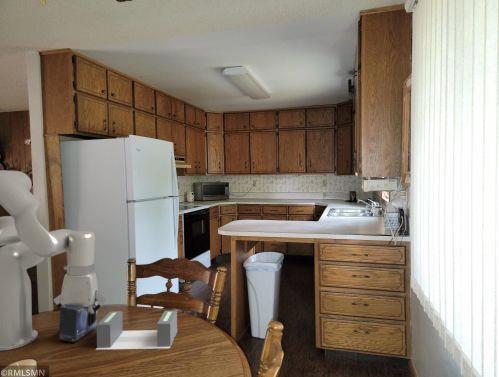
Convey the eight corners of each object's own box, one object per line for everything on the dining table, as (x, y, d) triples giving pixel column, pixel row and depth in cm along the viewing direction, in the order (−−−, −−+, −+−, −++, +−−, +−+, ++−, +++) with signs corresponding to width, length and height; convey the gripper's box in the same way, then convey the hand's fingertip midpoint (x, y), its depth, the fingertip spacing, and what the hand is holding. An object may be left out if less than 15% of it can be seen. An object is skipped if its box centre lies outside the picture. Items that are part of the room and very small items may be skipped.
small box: (75, 343, 99) (76, 309, 99) (57, 340, 100) (58, 306, 100) (98, 328, 110) (99, 297, 109) (81, 325, 111) (82, 295, 111)
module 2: (157, 346, 98) (156, 323, 98) (165, 331, 108) (164, 310, 108) (170, 346, 98) (170, 323, 98) (177, 331, 108) (176, 310, 108)
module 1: (97, 347, 97) (96, 324, 97) (110, 332, 107) (110, 311, 107) (110, 347, 97) (110, 324, 97) (122, 332, 107) (122, 310, 107)
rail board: (95, 354, 96) (95, 349, 96) (111, 335, 108) (111, 331, 108) (169, 353, 97) (169, 348, 97) (177, 334, 109) (177, 329, 109)
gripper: (46, 271, 101) (45, 328, 101) (103, 273, 101) (101, 330, 101) (60, 265, 108) (58, 318, 109) (112, 267, 109) (110, 319, 109)
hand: (79, 323), depth 105 cm, fingers closed on small box, 7 cm apart
